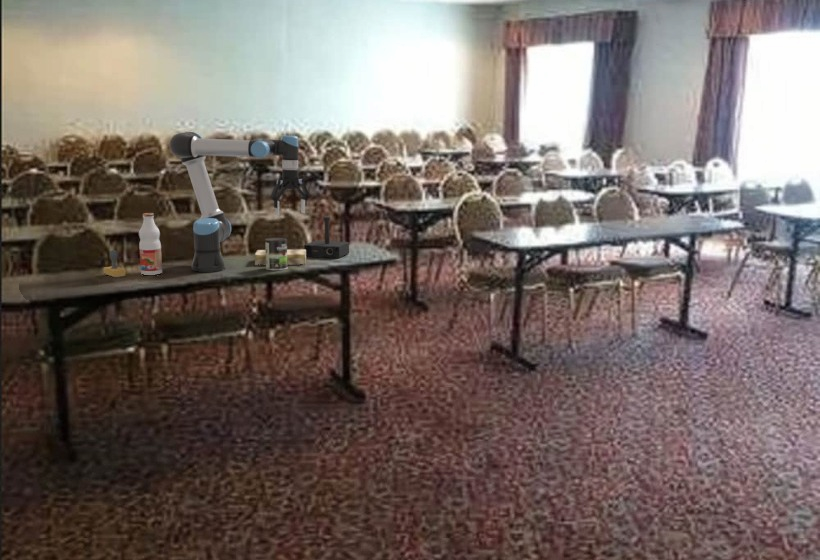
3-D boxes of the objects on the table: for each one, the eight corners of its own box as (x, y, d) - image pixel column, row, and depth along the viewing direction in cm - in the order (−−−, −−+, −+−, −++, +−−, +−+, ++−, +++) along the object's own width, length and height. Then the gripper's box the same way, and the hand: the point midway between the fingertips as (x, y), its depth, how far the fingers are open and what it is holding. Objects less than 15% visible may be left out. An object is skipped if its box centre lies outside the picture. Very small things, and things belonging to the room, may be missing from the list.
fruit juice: (166, 274, 399) (162, 213, 393) (147, 277, 393) (143, 215, 387) (156, 271, 406) (152, 211, 400) (137, 274, 400) (133, 213, 394)
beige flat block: (255, 265, 421) (254, 255, 420) (257, 259, 435) (257, 250, 434) (305, 264, 423) (304, 254, 422) (306, 259, 437) (305, 249, 436)
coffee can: (292, 268, 415) (291, 238, 412) (276, 271, 407) (275, 241, 404) (277, 265, 421) (276, 236, 418) (261, 268, 413) (260, 239, 410)
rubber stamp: (126, 276, 395) (124, 250, 392) (114, 278, 391) (112, 252, 388) (115, 273, 402) (113, 247, 399) (103, 275, 398) (101, 249, 395)
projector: (302, 257, 443) (301, 218, 439) (315, 252, 458) (314, 214, 454) (337, 259, 437) (337, 220, 433) (349, 254, 453) (349, 215, 449)
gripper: (269, 170, 400) (269, 216, 405) (317, 169, 414) (317, 213, 419) (262, 169, 406) (262, 214, 411) (309, 167, 420) (309, 211, 425)
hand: (290, 214), depth 415 cm, fingers open, 13 cm apart
